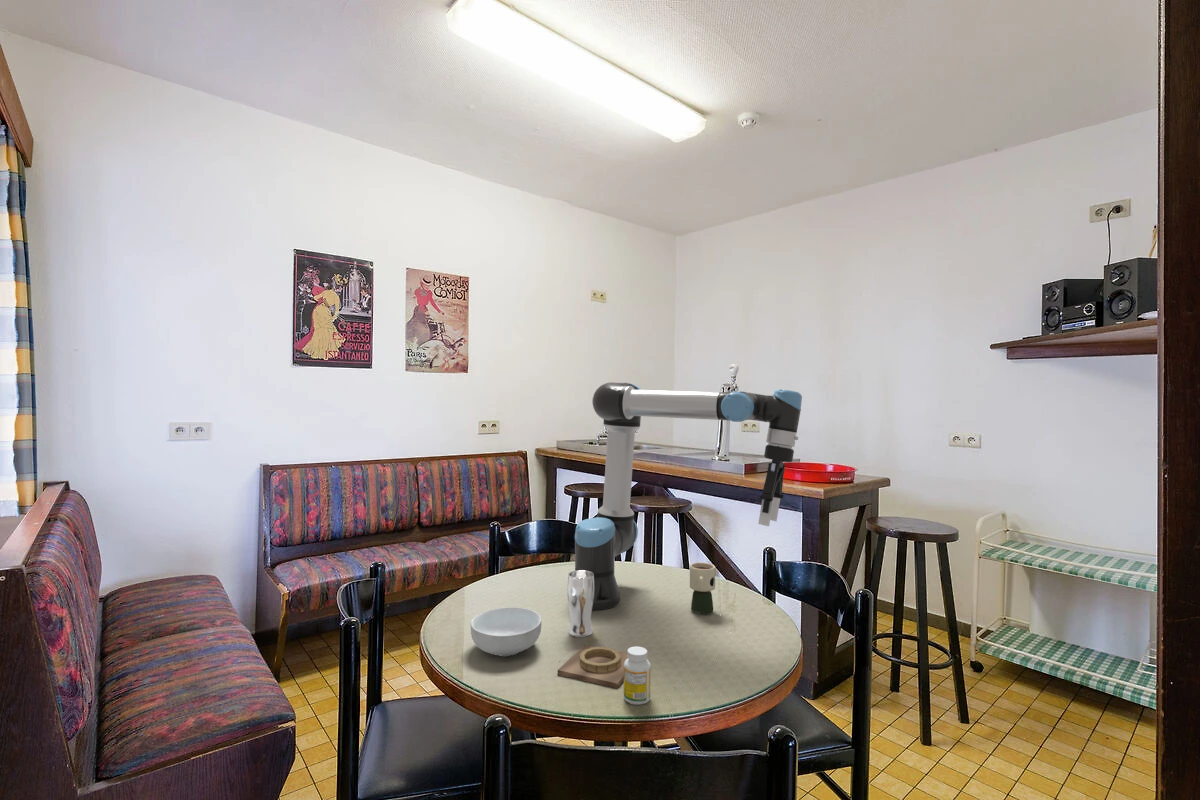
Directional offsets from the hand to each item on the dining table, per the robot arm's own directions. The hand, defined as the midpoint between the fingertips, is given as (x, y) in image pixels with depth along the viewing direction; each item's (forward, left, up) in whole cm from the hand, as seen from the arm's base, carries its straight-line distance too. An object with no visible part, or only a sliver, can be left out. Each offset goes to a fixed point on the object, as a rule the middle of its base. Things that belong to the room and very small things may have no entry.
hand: (767, 522), depth 157 cm
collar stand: (-30, -45, -26) cm, 60 cm away
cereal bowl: (-54, -46, -26) cm, 76 cm away
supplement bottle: (-18, -54, -26) cm, 63 cm away
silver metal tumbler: (-42, -30, -26) cm, 58 cm away
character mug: (-17, -3, -26) cm, 32 cm away
